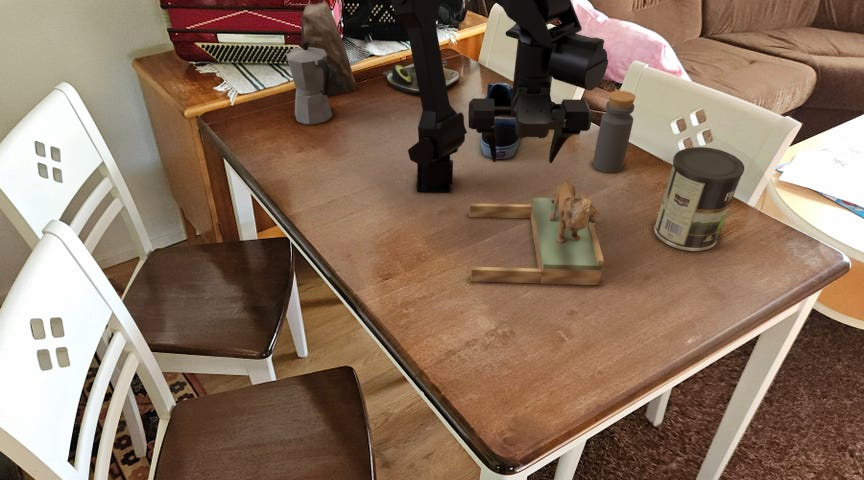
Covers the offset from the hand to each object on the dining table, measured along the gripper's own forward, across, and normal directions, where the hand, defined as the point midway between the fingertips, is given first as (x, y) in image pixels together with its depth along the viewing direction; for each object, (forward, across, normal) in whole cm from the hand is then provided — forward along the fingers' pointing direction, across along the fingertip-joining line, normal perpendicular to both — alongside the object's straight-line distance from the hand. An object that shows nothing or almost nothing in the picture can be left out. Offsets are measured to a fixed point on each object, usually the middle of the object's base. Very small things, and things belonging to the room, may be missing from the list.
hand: (522, 161), depth 103 cm
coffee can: (+13, +29, -2) cm, 32 cm away
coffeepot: (+14, -44, +42) cm, 62 cm away
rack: (+13, +2, -7) cm, 15 cm away
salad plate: (+14, -20, +63) cm, 67 cm away
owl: (+14, -43, +59) cm, 74 cm away
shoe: (+13, 0, +37) cm, 39 cm away
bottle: (+13, +20, +21) cm, 32 cm away
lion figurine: (+9, +8, -7) cm, 14 cm away
